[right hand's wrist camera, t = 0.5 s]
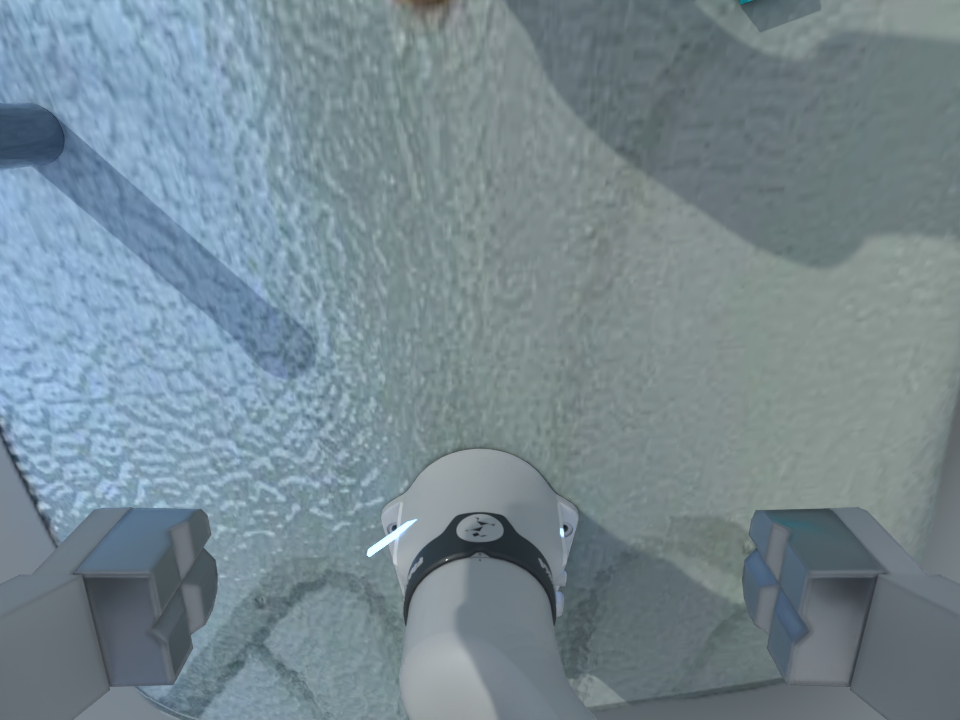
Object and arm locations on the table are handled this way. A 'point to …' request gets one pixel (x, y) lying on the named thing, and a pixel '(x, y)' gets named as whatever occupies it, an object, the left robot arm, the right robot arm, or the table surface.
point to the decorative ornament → (743, 1)
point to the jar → (28, 136)
